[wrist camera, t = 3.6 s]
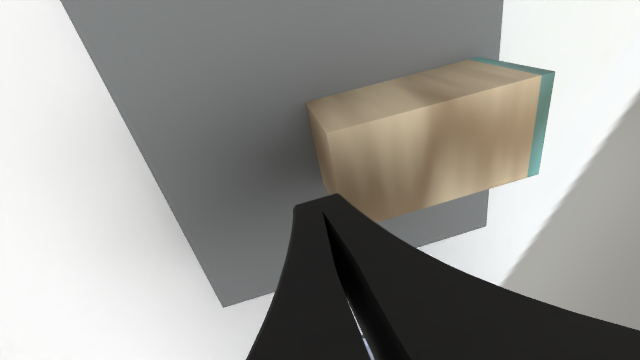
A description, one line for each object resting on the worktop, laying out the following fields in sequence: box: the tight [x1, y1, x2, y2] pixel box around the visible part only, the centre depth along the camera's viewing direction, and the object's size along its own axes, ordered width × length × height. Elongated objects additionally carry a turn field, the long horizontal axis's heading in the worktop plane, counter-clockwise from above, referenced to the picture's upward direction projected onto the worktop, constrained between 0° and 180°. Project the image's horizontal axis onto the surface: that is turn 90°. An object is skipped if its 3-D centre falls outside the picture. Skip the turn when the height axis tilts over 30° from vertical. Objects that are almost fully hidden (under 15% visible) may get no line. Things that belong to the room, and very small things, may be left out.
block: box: [305, 57, 555, 223], centre depth 13 cm, size 4×4×8 cm
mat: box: [60, 0, 503, 308], centre depth 15 cm, size 16×16×1 cm
